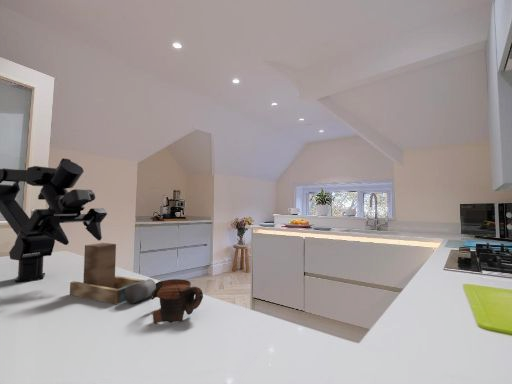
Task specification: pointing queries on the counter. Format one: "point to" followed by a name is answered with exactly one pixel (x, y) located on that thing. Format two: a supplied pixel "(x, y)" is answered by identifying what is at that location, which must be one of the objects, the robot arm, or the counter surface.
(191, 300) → the pottery mug
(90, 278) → the tall brown box
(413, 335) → the counter surface
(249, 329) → the counter surface
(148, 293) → the wooden u-shaped frame
